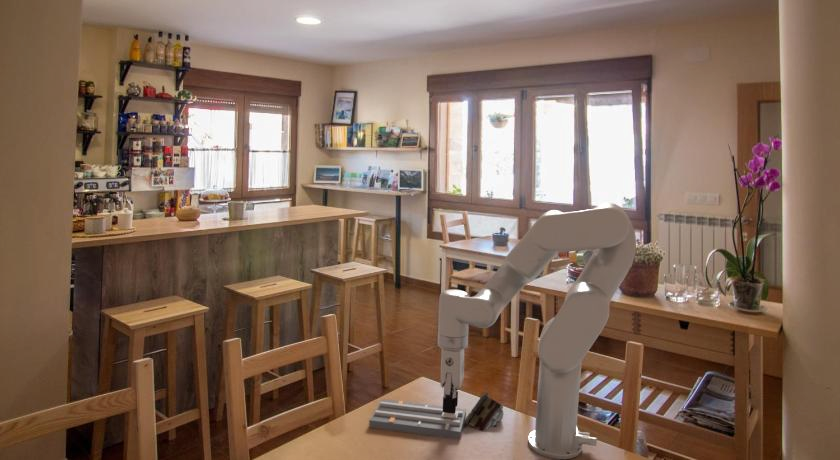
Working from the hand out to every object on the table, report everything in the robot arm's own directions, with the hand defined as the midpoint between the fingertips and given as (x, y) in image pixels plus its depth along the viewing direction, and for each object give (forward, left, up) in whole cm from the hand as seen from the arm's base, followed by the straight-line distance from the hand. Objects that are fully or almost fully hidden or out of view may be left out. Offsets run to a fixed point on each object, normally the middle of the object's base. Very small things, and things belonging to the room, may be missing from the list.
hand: (450, 408), depth 137 cm
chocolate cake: (-9, -4, -5) cm, 11 cm away
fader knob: (0, 0, -2) cm, 2 cm away
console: (+8, 0, -5) cm, 9 cm away
